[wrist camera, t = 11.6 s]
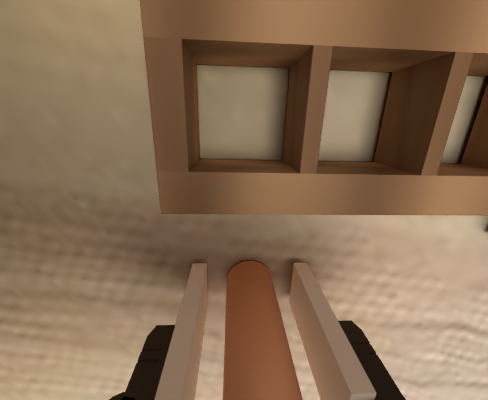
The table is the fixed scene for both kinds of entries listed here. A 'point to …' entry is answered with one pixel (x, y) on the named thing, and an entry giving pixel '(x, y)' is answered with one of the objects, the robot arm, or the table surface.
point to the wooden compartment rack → (322, 103)
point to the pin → (256, 339)
